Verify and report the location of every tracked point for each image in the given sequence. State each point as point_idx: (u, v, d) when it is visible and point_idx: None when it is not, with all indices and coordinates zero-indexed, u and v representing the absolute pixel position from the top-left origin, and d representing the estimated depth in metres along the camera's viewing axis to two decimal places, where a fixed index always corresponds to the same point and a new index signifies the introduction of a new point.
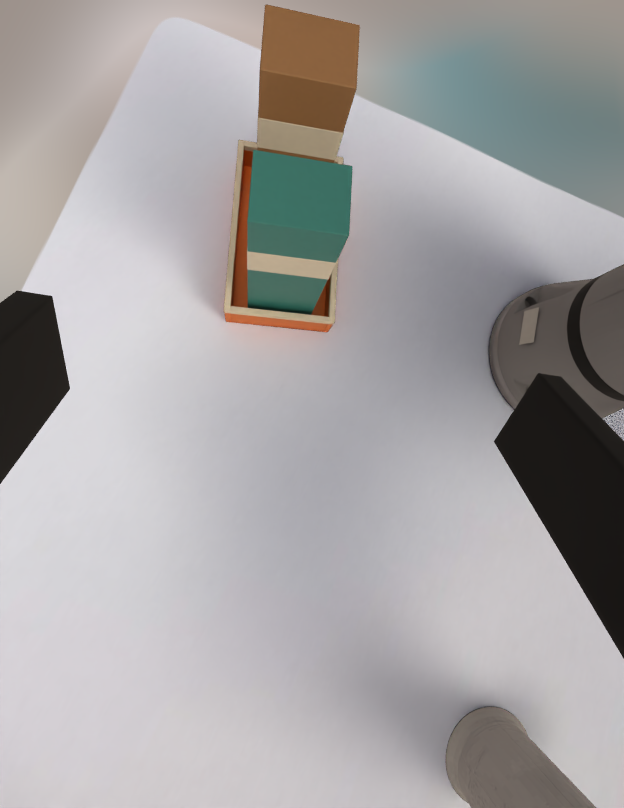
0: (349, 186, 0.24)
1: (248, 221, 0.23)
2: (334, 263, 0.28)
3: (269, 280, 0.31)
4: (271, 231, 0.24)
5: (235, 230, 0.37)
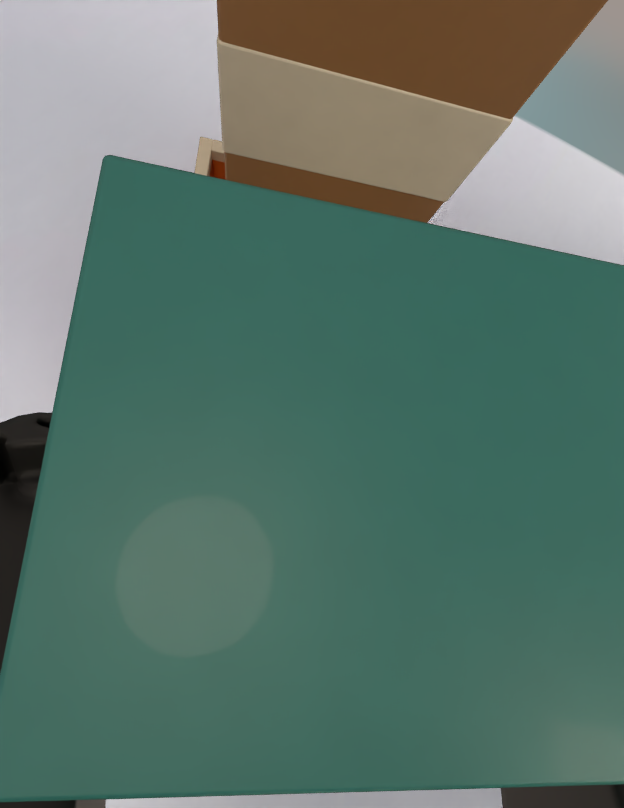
0: None
1: None
2: None
3: None
4: None
5: None
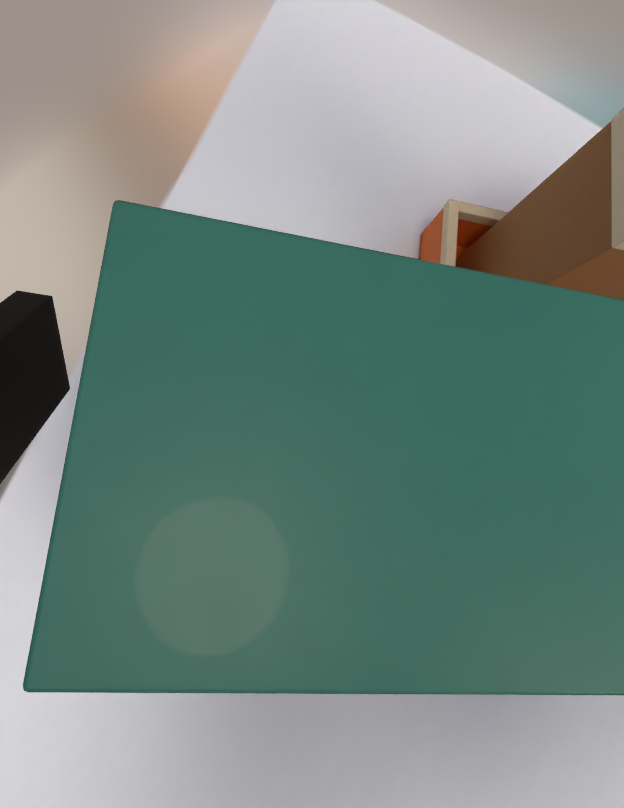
0: (621, 407, 0.05)
1: (32, 684, 0.03)
2: None
3: None
4: None
5: None
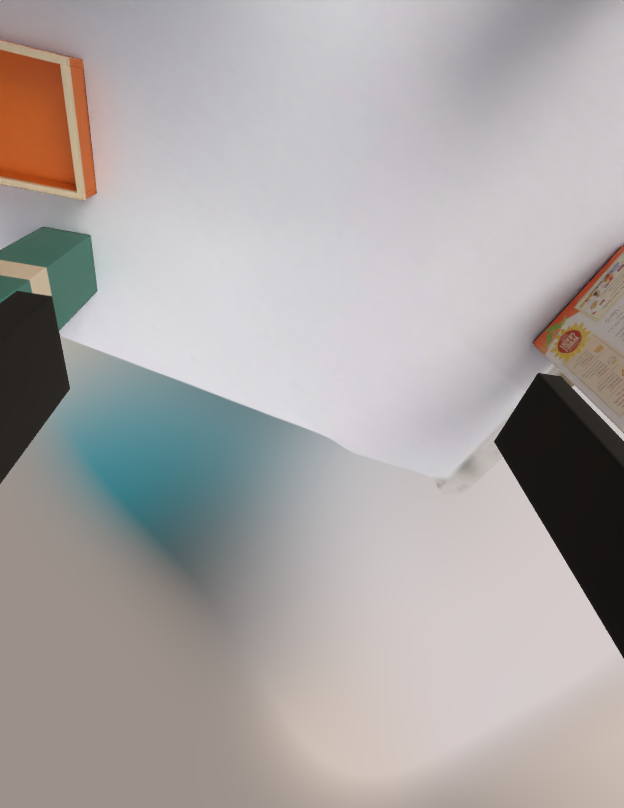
0: None
1: None
2: (30, 280, 0.31)
3: (62, 307, 0.37)
4: None
5: None
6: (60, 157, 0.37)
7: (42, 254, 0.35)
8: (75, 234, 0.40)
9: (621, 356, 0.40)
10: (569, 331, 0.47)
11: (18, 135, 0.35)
